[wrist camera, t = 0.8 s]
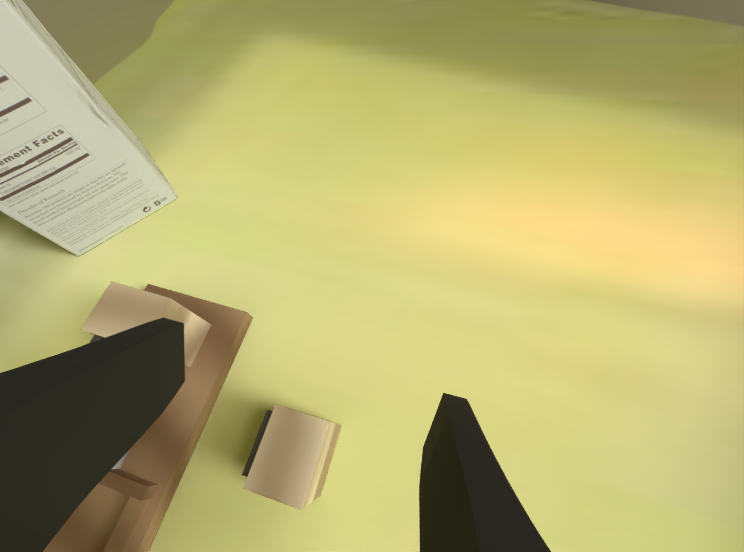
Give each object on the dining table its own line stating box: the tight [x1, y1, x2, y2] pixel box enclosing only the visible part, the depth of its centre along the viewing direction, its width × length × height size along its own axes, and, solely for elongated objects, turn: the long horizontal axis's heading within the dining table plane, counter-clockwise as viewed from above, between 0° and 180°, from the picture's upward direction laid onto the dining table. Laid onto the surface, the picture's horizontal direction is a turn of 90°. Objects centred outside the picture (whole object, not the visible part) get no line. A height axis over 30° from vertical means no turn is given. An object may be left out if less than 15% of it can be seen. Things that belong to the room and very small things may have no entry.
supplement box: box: [0, 0, 177, 256], centre depth 24 cm, size 10×9×17 cm
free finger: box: [242, 404, 342, 510], centre depth 20 cm, size 4×4×5 cm
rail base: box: [43, 281, 253, 552], centre depth 21 cm, size 18×8×6 cm, turn 163°
